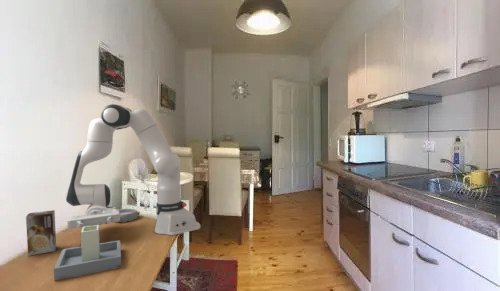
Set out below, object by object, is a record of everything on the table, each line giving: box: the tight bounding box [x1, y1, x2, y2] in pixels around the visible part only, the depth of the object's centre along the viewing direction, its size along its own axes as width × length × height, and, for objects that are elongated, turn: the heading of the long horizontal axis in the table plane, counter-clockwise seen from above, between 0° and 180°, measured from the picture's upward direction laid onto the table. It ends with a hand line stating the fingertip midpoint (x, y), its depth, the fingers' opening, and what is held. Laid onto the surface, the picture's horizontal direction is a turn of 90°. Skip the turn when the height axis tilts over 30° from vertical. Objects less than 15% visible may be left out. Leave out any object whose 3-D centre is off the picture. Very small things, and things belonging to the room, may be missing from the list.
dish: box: [117, 208, 141, 223], centre depth 161 cm, size 14×14×5 cm
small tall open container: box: [80, 225, 101, 262], centre depth 105 cm, size 5×7×12 cm
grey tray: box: [53, 239, 122, 281], centre depth 104 cm, size 20×18×4 cm
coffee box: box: [25, 209, 57, 256], centre depth 116 cm, size 9×6×16 cm
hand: (94, 223), depth 117 cm, fingers open, 8 cm apart
